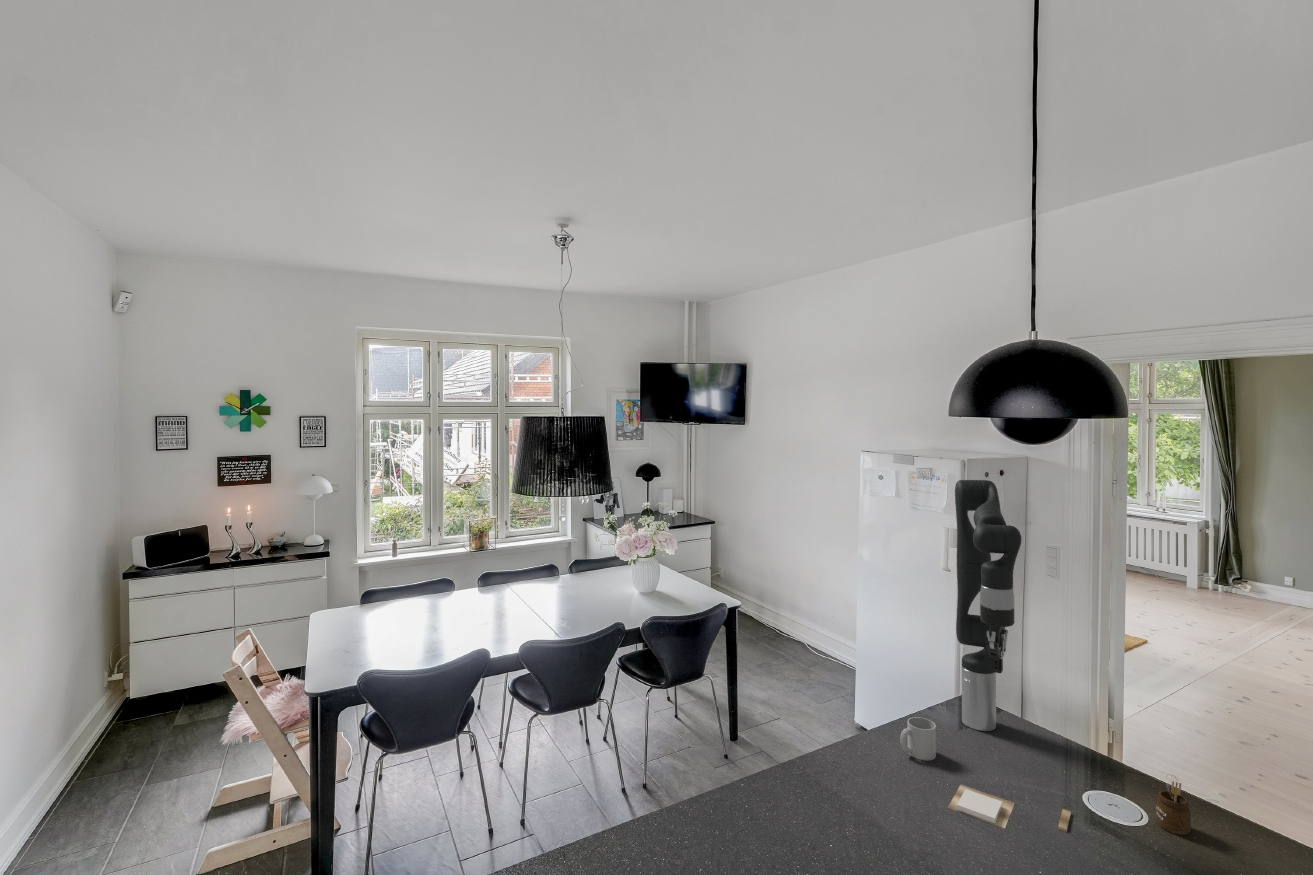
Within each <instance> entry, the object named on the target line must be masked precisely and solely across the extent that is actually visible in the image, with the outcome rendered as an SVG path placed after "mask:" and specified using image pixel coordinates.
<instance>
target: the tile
mask: <svg viewBox="0 0 1313 875" xmlns="http://www.w3.org/2000/svg"><path fill="white" fill-rule="evenodd" d="M1001 809H1002V801H999V800H996V799H993V798H990V797H988V796H985V795H982V794H979V793H976V792H973V791H970V790H967V789H965V791H964V793H963V795H962V796H961V798H960V800H959V802H958V804H957V810H959V811H962V812H965V813H967V814H970V815H973V816H975V817H978V818H981V819H984V820H986V821H989V822H992V823H996V820H997V818H998V816H999V813H1000V811H1001Z"/></svg>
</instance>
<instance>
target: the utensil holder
mask: <svg viewBox="0 0 1313 875" xmlns="http://www.w3.org/2000/svg"><path fill="white" fill-rule="evenodd" d="M1168 776H1169V777H1168ZM1171 777H1174V778H1175V779H1176V781H1174V779H1172V780H1171V782H1170V783H1171V790H1170V788H1168V787H1169V784H1166V785H1165V786H1166V790H1165V789H1164V790H1160V791H1159V792H1158V799H1157V801H1156V808H1155V810H1156V812H1155V814H1156V816H1155V817H1156V819H1155V820H1156V822H1157V824H1158V826H1159V827H1160V828H1161V829H1164V830H1165V831H1167V832H1168V833H1171V834H1173V835H1178V836H1187V835H1189V834H1190V833H1191V827H1192V824H1191V823H1192V815H1191V811H1190V808H1189V806H1190V805H1189V801H1188V798H1186V797H1185V796H1184V795H1183V794H1181V791H1182V783H1181V782H1180V781H1179V778H1178V777H1177V776H1176V775H1174V774H1171V773H1170V774H1168V775H1166V778H1171Z"/></svg>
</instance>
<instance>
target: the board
mask: <svg viewBox="0 0 1313 875" xmlns="http://www.w3.org/2000/svg"><path fill="white" fill-rule="evenodd" d="M965 789H967V790H970V791H973V792H976V793H979V794H982V795H985V796H988V797H990V798H993V799H996V800H999V801H1002V809H1001V811H1000V813H999V816H998V818H997V820H996V823H992V822H989V821H986V820H984V819H981V818H978V817H975V816H973V815H970V814H967V813H965V812H962V811H959V810H957V804H958V802H959V800H960V798H961V796H962V795H963V793H964V791H965ZM1015 804H1016V803H1015V802H1013V801H1010V800H1008V799H1004V798H1002V797H999V796H996V795H993V794H990V793H987V792H984V791H981V790H978V789H975V788H973V787H970V786H967V785H964V784H959V786H958V788H957V790H956V792H955V794H954V795H953V797H952V799H951V801H949V804H948V806H947V808H948V809H950V810H953V811H955V812H957V813H961V814H964V815H967V816H969V817H972V818H975V819H976V820H980V821H983V822H984V823H985V822H986V823H988V824H991V825H993V826H996V827H999V828H1001V829H1006V827H1007V825H1008V821H1009V819H1010V818H1011V814H1012V811H1013V809H1014V806H1015Z"/></svg>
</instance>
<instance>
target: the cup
mask: <svg viewBox="0 0 1313 875" xmlns="http://www.w3.org/2000/svg"><path fill="white" fill-rule="evenodd" d="M906 722H907V723H906V724H907V726H906V728H904V729H903V730H901V733H900V738H899V741H900V742H899V743H900V746H901V749H902V751H904V752H905V753H908V755H909V757H913V758H915V759H917V760H921V761H932V760H934V759H936V757H937V726H936V723H935V722H934V721H932V720H930V719H928V718H926V717H921V716H914V717H912V716H911V717H910V718H908V719H907V721H906Z"/></svg>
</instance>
